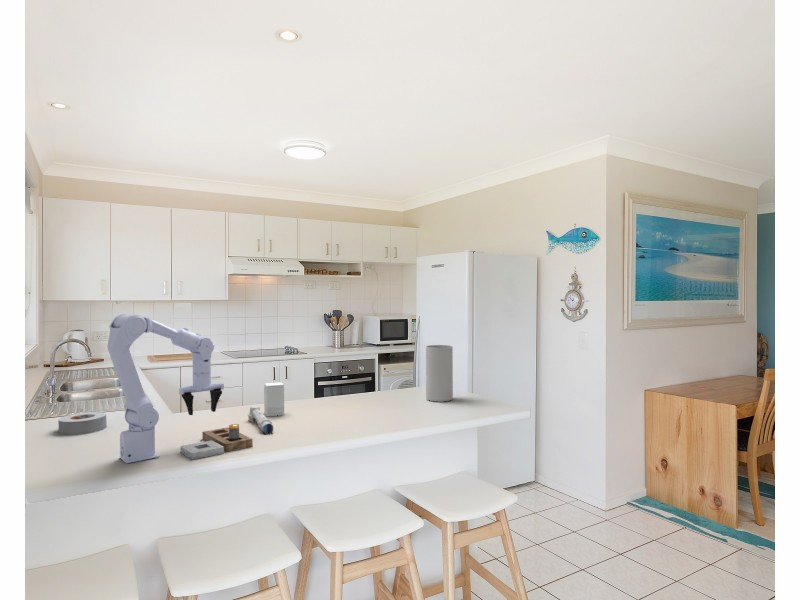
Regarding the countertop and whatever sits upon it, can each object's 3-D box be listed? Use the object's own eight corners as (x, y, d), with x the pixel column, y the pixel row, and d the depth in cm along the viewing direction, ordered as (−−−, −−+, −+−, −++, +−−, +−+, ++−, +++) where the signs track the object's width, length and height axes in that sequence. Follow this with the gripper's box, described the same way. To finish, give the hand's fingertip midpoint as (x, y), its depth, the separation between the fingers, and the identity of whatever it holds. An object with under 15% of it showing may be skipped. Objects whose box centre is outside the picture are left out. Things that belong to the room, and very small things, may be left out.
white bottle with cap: (261, 424, 188) (246, 402, 210) (260, 442, 189) (246, 418, 211) (275, 422, 191) (259, 400, 213) (275, 440, 192) (259, 416, 213)
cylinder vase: (439, 403, 240) (439, 348, 239) (420, 399, 249) (420, 346, 249) (458, 399, 248) (458, 346, 248) (438, 395, 257) (438, 344, 257)
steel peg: (231, 448, 171) (231, 426, 171) (227, 446, 174) (227, 425, 174) (241, 446, 174) (240, 425, 173) (236, 444, 176) (236, 423, 176)
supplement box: (284, 415, 218) (284, 384, 218) (266, 416, 216) (266, 385, 215) (281, 411, 225) (281, 381, 225) (263, 413, 222) (263, 383, 222)
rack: (225, 451, 168) (225, 443, 168) (202, 438, 183) (202, 431, 183) (252, 446, 174) (252, 438, 174) (227, 434, 189) (227, 427, 189)
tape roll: (50, 436, 188) (50, 422, 188) (68, 426, 203) (68, 412, 203) (98, 434, 191) (97, 420, 191) (112, 424, 206) (112, 410, 206)
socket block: (191, 459, 160) (191, 453, 160) (180, 452, 167) (180, 446, 167) (224, 453, 166) (224, 446, 166) (211, 446, 174) (211, 440, 174)
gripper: (183, 376, 171) (184, 418, 171) (227, 371, 180) (227, 411, 180) (176, 374, 176) (176, 414, 176) (219, 369, 186) (219, 408, 186)
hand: (202, 412), depth 179 cm, fingers open, 7 cm apart
